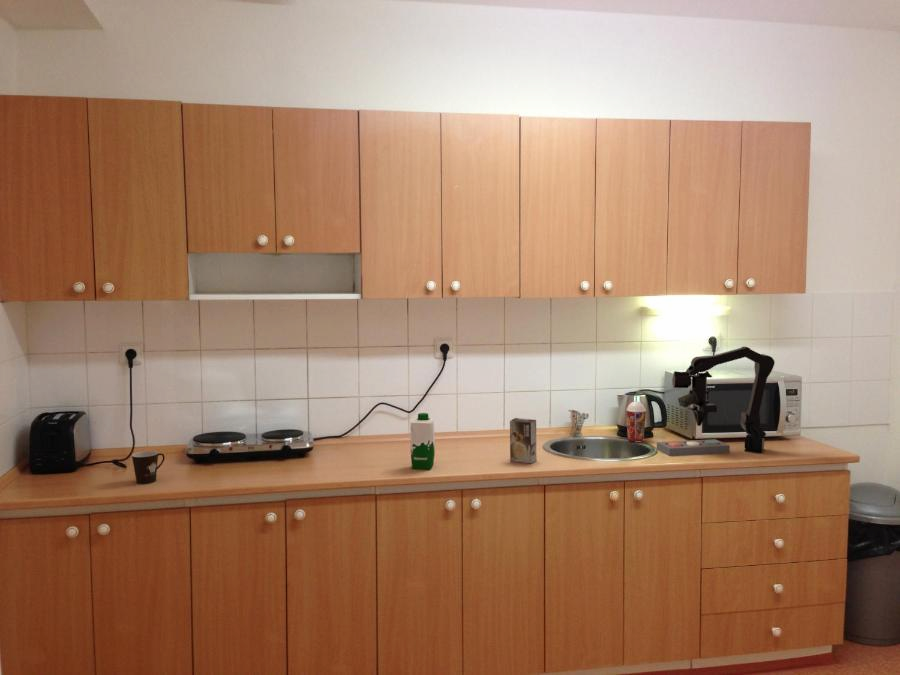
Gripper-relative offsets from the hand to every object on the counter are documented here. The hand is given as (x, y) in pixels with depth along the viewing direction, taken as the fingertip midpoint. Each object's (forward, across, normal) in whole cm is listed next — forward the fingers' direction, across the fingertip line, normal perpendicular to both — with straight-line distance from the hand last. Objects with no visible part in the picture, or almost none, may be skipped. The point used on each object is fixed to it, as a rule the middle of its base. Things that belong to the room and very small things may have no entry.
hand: (698, 425), depth 289 cm
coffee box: (+9, +2, -75) cm, 76 cm away
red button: (+9, +1, -11) cm, 14 cm away
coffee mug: (+8, +1, -212) cm, 213 cm away
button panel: (+10, +1, -3) cm, 11 cm away
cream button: (+9, +1, -3) cm, 10 cm away
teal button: (+9, +2, +5) cm, 10 cm away
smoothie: (+10, -20, -18) cm, 29 cm away
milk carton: (+9, +3, -115) cm, 115 cm away
